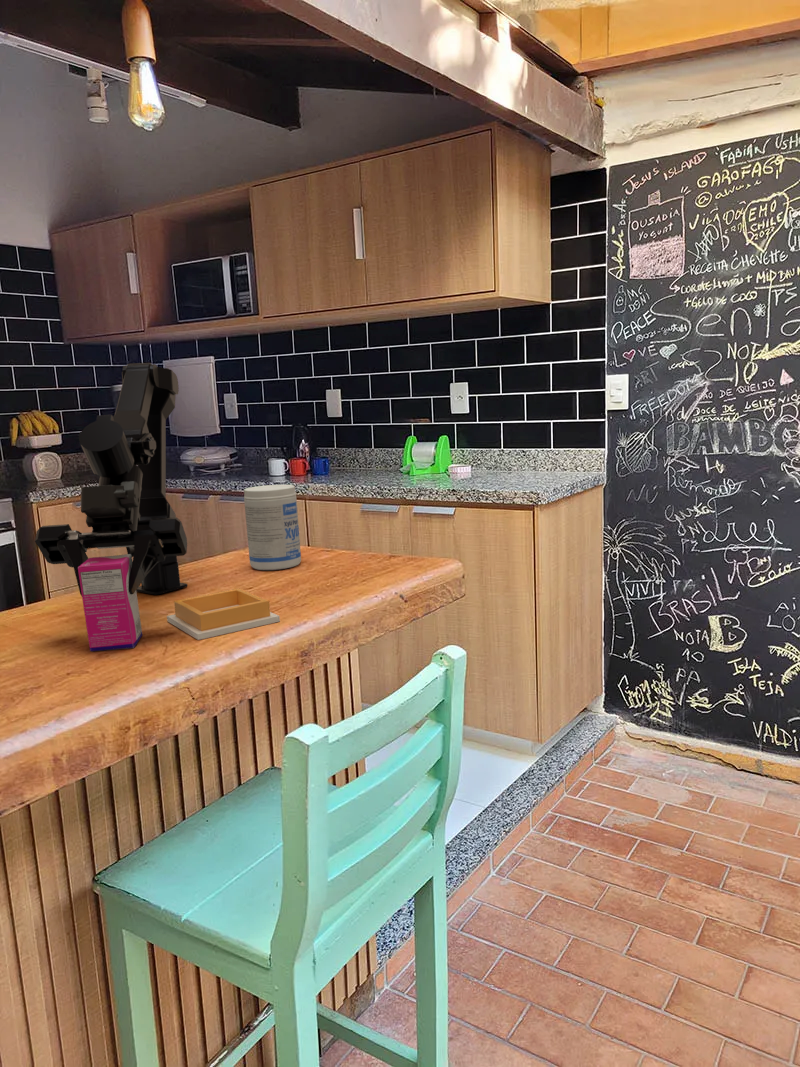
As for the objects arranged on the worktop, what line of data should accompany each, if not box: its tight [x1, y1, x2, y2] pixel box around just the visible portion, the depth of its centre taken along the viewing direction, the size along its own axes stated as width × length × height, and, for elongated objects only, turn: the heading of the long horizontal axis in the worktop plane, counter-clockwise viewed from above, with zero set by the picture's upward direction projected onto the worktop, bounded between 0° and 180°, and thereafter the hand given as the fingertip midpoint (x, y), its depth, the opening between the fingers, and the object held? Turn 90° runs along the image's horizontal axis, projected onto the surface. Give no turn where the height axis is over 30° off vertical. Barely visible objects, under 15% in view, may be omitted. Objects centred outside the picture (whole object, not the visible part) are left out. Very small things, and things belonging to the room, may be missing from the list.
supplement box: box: [78, 553, 144, 652], centre depth 107 cm, size 6×6×12 cm
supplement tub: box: [243, 484, 302, 571], centre depth 150 cm, size 10×10×15 cm
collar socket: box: [166, 588, 281, 641], centre depth 115 cm, size 12×12×3 cm
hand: (106, 594), depth 105 cm, fingers closed on supplement box, 6 cm apart
